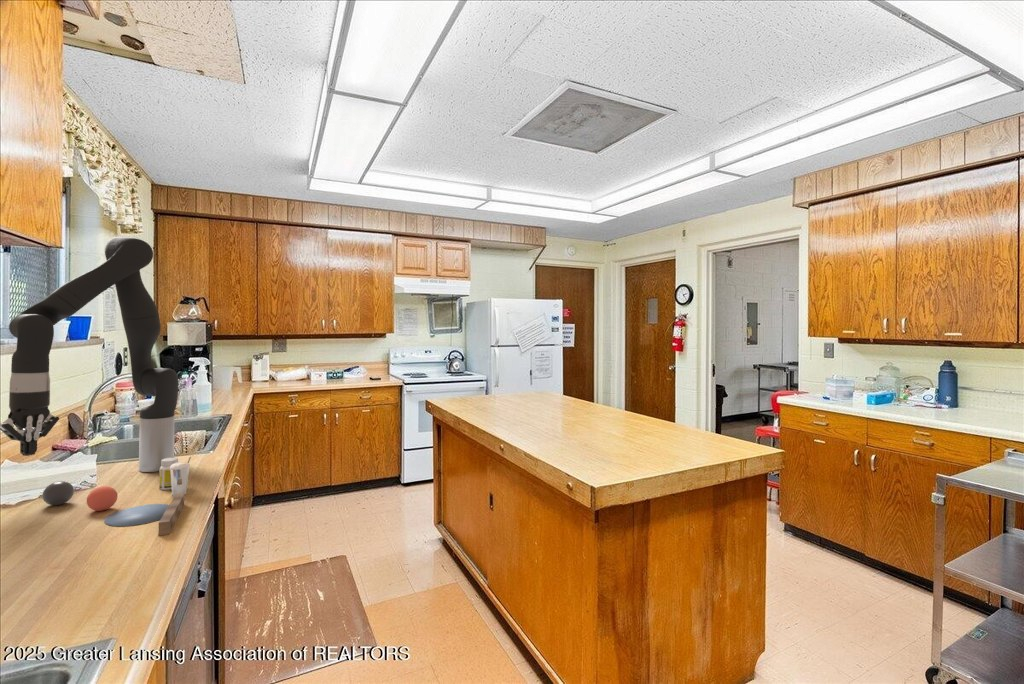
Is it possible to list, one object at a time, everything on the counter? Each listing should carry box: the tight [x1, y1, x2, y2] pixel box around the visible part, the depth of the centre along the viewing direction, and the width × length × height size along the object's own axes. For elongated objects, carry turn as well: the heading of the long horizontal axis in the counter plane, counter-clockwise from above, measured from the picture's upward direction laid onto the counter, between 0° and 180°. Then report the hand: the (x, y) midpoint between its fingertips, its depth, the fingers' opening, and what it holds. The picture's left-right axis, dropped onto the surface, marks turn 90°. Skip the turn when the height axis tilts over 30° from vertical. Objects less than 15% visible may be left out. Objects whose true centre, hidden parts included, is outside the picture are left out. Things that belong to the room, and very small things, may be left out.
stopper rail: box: [157, 493, 186, 536], centre depth 117 cm, size 20×2×3 cm, turn 26°
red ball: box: [86, 485, 118, 512], centre depth 121 cm, size 6×6×6 cm
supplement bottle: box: [158, 457, 179, 491], centre depth 139 cm, size 5×5×8 cm
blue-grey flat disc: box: [104, 503, 169, 527], centre depth 119 cm, size 14×14×1 cm
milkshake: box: [170, 456, 192, 497], centre depth 134 cm, size 4×5×10 cm
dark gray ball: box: [42, 480, 75, 506], centre depth 124 cm, size 6×6×6 cm
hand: (28, 454), depth 125 cm, fingers closed
